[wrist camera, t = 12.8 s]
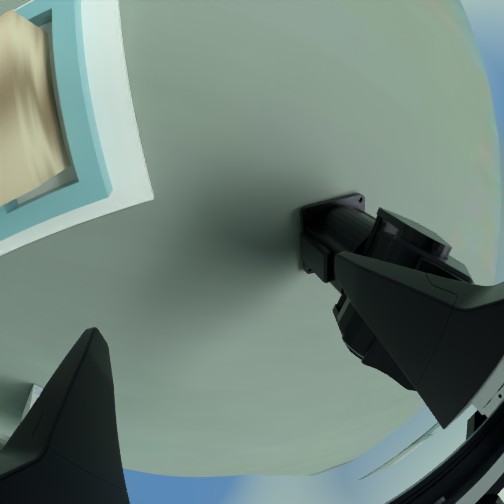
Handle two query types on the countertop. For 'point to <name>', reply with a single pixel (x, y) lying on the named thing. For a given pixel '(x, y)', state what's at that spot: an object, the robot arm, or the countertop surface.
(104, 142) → the keyed cradle
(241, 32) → the countertop surface
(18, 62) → the key block
